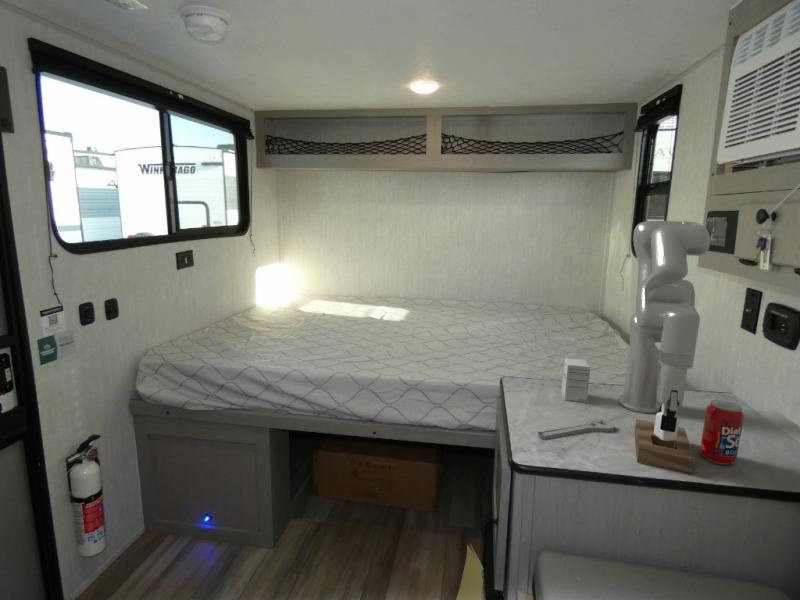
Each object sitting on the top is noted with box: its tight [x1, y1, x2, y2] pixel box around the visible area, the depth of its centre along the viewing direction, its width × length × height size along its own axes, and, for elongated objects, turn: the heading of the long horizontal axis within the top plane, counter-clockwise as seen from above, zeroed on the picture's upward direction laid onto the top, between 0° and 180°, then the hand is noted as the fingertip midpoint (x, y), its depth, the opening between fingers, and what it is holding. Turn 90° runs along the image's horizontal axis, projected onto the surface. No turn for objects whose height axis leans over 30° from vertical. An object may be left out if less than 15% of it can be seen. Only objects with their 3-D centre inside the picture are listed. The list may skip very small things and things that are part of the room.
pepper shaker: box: [654, 401, 680, 441], centre depth 117 cm, size 4×4×10 cm
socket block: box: [634, 419, 695, 475], centre depth 121 cm, size 18×12×4 cm, turn 155°
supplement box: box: [561, 357, 591, 403], centre depth 155 cm, size 7×7×13 cm
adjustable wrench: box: [536, 418, 616, 440], centre depth 133 cm, size 25×6×2 cm, turn 104°
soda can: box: [699, 399, 745, 466], centre depth 117 cm, size 8×8×15 cm
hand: (666, 425), depth 118 cm, fingers closed on pepper shaker, 5 cm apart
